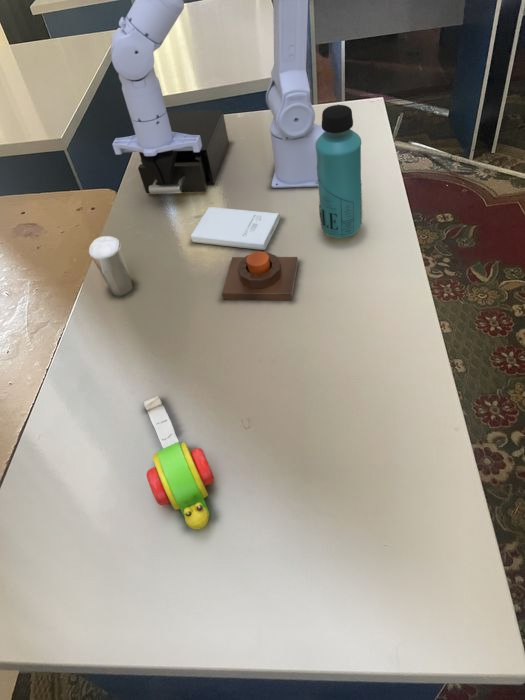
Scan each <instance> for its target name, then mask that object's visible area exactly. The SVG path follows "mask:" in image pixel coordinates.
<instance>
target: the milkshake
mask: <svg viewBox="0 0 525 700" xmlns="http://www.w3.org/2000/svg"><path fill="white" fill-rule="evenodd" d="M121 238H122V236H121V235H120V236H119V239H118V238H117V237H114V236H112V235H103V236H99V237H97V238H95V239H94V240H93V241H92V242H91V244H90V245H89V248H88V253H89V255H90V257H91V258H92V261H93V262H94V263H95V265H96V268H97V269H98V271H99V272H100V274H101V276H102V278H103V279H104V282H105V283H106V285H107V287H108V289H109V291H110V292H111V294H112V295H114V296H115V297H123V296H126V295H128V294H129V293H130V292H131V291H132V290H133V282H132V279H131V275H130V273H129V268H128V266H127V262H126V259H125V256H124V251H123V248H122V243H121Z"/></svg>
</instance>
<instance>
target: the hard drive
mask: <svg viewBox="0 0 525 700" xmlns="http://www.w3.org/2000/svg"><path fill="white" fill-rule="evenodd" d="M280 220H281V216H280V213H279V212H268V211H267V212H266V211H257V210H247V209H238V208H237V209H236V208H227V207H226V208H225V207H214V206H209V207H208V208H207V209H206V211H205V212H204V214H203V215H202V217H201V219H200V220H199V222H198V223H197V225H196V226H195V228H194V229H193V231H192V232H191V235H190V238H191V242H192V243H196V244H197V243H198V244H204V245H214V246H222V247H232V248H240V249H241V248H242V249H251V250H258V251H266V249H267V247H268V245H269V243H270V241H271V239H272V237H273V235H274V233H275V231H276V229H277V227H278V225H279V223H280Z"/></svg>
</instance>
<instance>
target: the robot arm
mask: <svg viewBox="0 0 525 700" xmlns="http://www.w3.org/2000/svg"><path fill="white" fill-rule="evenodd" d="M272 2H273V3H272V4H273V5H272V7H273V66H272V68H271V72H270V83H269V85H268V88H267V90H266V93H265V103H266V105H267V108H268V109H269V110H270V112H271V115H272V117H273V118H272V121H271V124H270V127H269V130H270V137H271V146H272V153H273V162H274V173H273V177H272V180H271V185H270V186H271V188H273V189H277V188H278V189H280V188H313V187H315V188H316V187H318V188H319V185H318V181H317V180H318V173H317V172H318V170H317V163H316V162H317V154H316V147H315V144H316V141H317V139H318V138H319V137H320V136H321V135H322V134H323V133H324V132H325V131H324V130H323V129H322V124H318V123H315V121H316V112H315V109H314V106H313V104H312V101H311V89H310V88H311V87H310V83H309V79H308V73H307V51H308V50H307V49H308V21H309V20H308V19H309V18H308V17H309V0H272ZM184 9H185V2H184V0H134V2H133V4H132V5H131V7H130V9H129V11H128V12H127V14H126V16H125V17H124V16H121V17H120V19H119V21H118V26H119V27H118V28H117V29H116V30H115V31H114V32H113V33H112V36H111V40H110V58H111V64H112V65H113V68H114V70H115V71H116V73H117V74H118V79H119V82H120V83H121V91H122V94H123V98H124V101H125V104H126V108H127V111H128V115H129V117H130V120H131V124H132V127H133V131H134V135H130V136H124V137H116V138H115V139H114V140H113V142H112V143H111V145H112V149H113V151H114V154H115V155H117V156H118V155H122V154H123V153H139V152H142V159H141V158H140V162H141V164H142V165H143V166H145V167H146V168H147V169H148V170H149V171H150V172H151V173H152V174H153V175H154V177H155V178H156V179H157V181H158V182H159V184H160V185H174V166H175V159H176V154H177V151H188V150H193V152H200V150H201V147H202V143H201V138H200V135H188V134H182V133H177V132H172V131H171V127H170V122H169V118H168V114H167V113H168V112H167V111H168V110H167V106H166V103H165V99H164V94H163V90H162V86H161V83H160V80H159V78H158V77H157V74H156V71H155V56H154V52H155V51H157V50H158V49H160V47H161V46H162V44H163V43H164V41H165V40H166V38H167V36H168V35H169V34H170V31H171V30H172V28H173V27H174V26H175V24H176V22H177V20H178V19H179V17H180V15H181V14H182V12H183V11H184Z"/></svg>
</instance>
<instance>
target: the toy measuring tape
mask: <svg viewBox="0 0 525 700" xmlns="http://www.w3.org/2000/svg"><path fill="white" fill-rule="evenodd" d="M143 406H144V408H145V410H146V412H147V415H148V417H149V419H150V422H151V424H152V427H153V429H154V431H155V433H156V435H157V438H158V440H159V443H160V445H161V447H162V449H159V450H158V451H156V453H154V454H152V460H153V464H154V466H153V467H151V468H149V469H148V470H147V472H146V479H147V482H148V484H149V487H150V490H151V492H152V495H153V497H154V500H155V501H156V503H157V504H158V505H159V506H165V505H168V504H169V503H170V505H171V506H172V507H173V509H174V510H175V511H177V510H178V511H179V510H180V511H181V513H182V515H183V518H184V522H185V524H186V525H187V526H188V528H190V529H193V530H200V529H203V528H204V527H205V526H206V525H207V524H208V522H209V519H210V518H209V517H210V515H211V513H210V511H209V507H208V506H207V503H206V500H205V498H207V497H208V496H209V494H208V491H207V488H206V486H209V485H211V484H212V483H213V482H214V481H215V476H214V473H213V471H212V469H211V466H210V464H209V462H208V459H207V457H206V453H205V452H204V450H203V448H201V447H196V448H194V449H192V450H190V448H189V446H188V444H187V443H186V442H180V440H179V438H178V436H177V434H176V431H175V427H174V425H173V423H172V420H171V417H170V416H169V414H168V412H167V410H166V408H165V406H164V405H163V401H162V399H161V397H160V395H156V396H154V397H151V398H149V399H147V400H144V401H143Z"/></svg>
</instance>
